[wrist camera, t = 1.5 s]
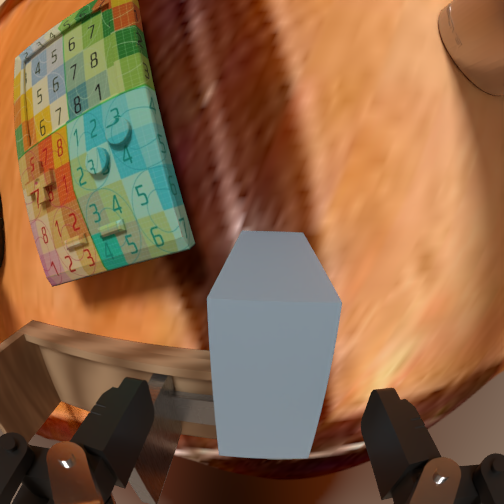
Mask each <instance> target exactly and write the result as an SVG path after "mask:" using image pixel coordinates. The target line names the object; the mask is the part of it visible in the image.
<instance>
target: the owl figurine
mask: <svg viewBox="0 0 504 504" xmlns="http://www.w3.org/2000/svg"><path fill="white" fill-rule="evenodd" d="M1 208H2V203H1V196H0V212H1ZM3 255H4V231H3V219H2V218H0V267H1V265H2V260H3Z"/></svg>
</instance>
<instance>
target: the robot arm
mask: <svg viewBox="0 0 504 504" xmlns="http://www.w3.org/2000/svg"><path fill="white" fill-rule="evenodd" d="M438 25H439V31H440V34H441V37H442V40H443V42H444V44H445V46H446V49H447V51H448V52H449V54H450V55H451V57H452V59H453V60H454V62H455V63H456V64H457V66H458V67H459V69H460V70H461V71H462V72H463V73H464V74H465V75H466V77H467V78H468V79H469V80H470V81H471V82H473V83H474V84H475V85H476V86H477V87H479V88H480V89H481V90H483V91H484V92H487V93H489V94H491V95H496V96H499V95H504V0H453V1H452V2H451V3H449V4H448V5H447V6H446V7H445V8H444V9H442V10H441V12H440V14H439V19H438ZM153 421H154V406H153V402H152V398H151V394H150V390H149V385H148V382H147V381H146V380H142V379H137V378H132V377H125V378H124V379H123V381H122V382H121V384H120V386H119V387H118V388H115V387H112V388H110V389H109V390H107V391H106V392H104V393H103V394H102V395H101V396H100V398H99V399H98V401H97V402H96V405H94V406H93V408H92V409H91V412H90V413H89V414H88V415H87V417H86V418H85V420H84V421H83V423H82V424H81V426H80V427H79V429H78V430H77V432H76V433H75V435H74V436H73V438H72V439H71V440H70V441H69V442H67V441H65V442H59V443H56V444H55V445H53V446H52V447H51V448H43V447H37V446H31V445H29V444H28V443H27V441H26V440H25V438H24V437H23V436H22V435H20V434H18V433H15V432H9V433H6V434H4V435H2V436H1V437H0V504H10V502H11V500H12V498H13V496H14V494H15V493H16V491H17V489H18V487H19V485H20V484H21V483H22V486H21V488H20V490H19V491H18V493H17V495H16V497H15V499H14V500H13V503H12V504H116V501H115V499H114V497H113V494H112V490H113V487H114V485H116V486H119V487H122V488H126V485H127V483H128V481H129V478H130V476H131V473H132V471H133V469H134V466H135V464H136V462H137V459H138V457H139V455H140V452H141V450H142V448H143V445H144V443H145V441H146V438H147V436H148V434H149V431H150V429H151V427H152V425H153ZM361 431H362V435H363V438H364V442H365V445H366V448H367V451H368V455H369V458H370V461H371V464H372V468H373V471H374V475H375V478H376V481H377V485H378V489H379V492H380V496H381V499H382V500H384V499H388V498H393V501H394V504H504V455H501V454H491V455H489V456H487V457H486V458H485V459H484V460H483V461H482V462H481V464H480V465H470V466H459V465H458V464H457V463H456V462H454V461H453V460H451V459H449V458H445V457H441V455H440V453H439V451H438V449H437V447H436V445H435V443H434V441H433V440H432V438H431V436H430V434H429V432H428V430H427V428H426V427H425V424H424V423H423V421H422V419H420V415H419V413H418V412H417V410H416V408H415V407H414V406H413V405H412V404H411V403H410V402H408V401H407V400H406V399H403V400H400V398H399V396H398V394H397V392H396V390H395V389H394V388H385V389H377V390H373V391H372V392H371V395H370V398H369V401H368V403H367V406H366V409H365V412H364V414H363V417H362V421H361Z"/></svg>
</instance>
